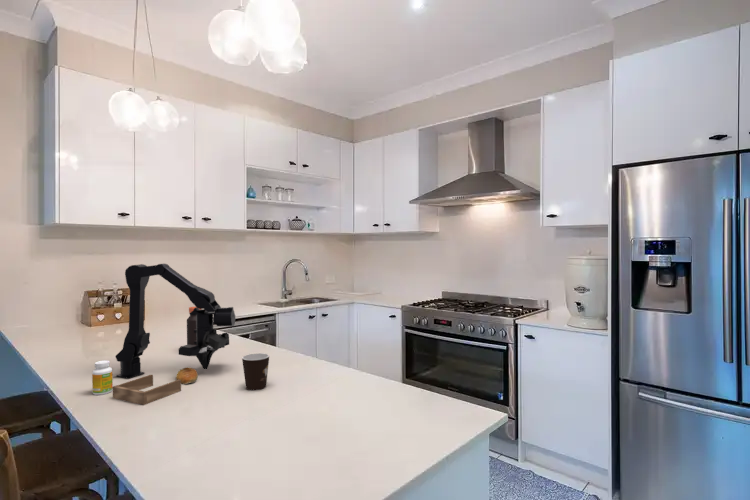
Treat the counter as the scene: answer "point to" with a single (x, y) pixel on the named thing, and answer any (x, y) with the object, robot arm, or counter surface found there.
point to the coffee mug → (255, 370)
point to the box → (132, 393)
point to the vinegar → (191, 328)
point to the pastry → (187, 375)
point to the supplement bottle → (102, 378)
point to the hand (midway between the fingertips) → (205, 369)
